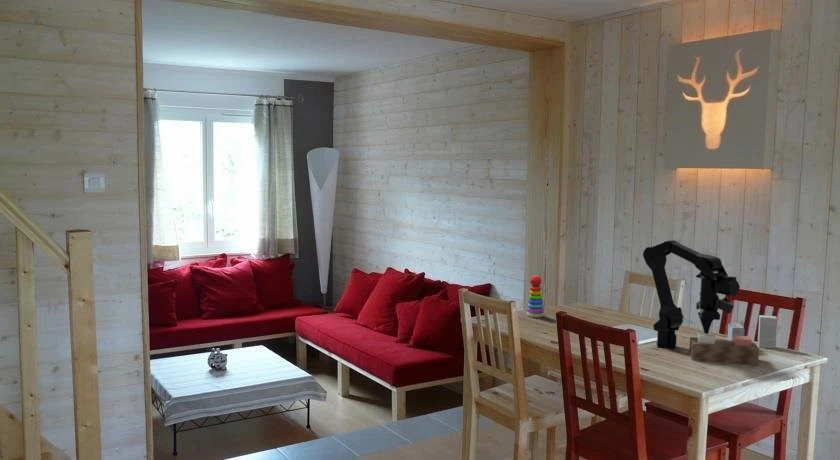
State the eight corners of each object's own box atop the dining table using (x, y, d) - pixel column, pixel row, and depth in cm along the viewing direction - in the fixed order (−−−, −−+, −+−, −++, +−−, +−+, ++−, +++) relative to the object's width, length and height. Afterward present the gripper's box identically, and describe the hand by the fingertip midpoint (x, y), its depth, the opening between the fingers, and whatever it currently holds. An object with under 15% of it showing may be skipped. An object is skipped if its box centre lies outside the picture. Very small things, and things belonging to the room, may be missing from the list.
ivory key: (698, 346, 257) (699, 336, 256) (696, 342, 262) (697, 332, 262) (714, 348, 255) (715, 337, 255) (712, 344, 260) (713, 333, 260)
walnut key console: (691, 359, 256) (692, 343, 255) (689, 352, 265) (690, 337, 265) (758, 365, 250) (759, 349, 249) (752, 357, 259) (753, 342, 259)
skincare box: (774, 346, 276) (776, 316, 275) (775, 348, 272) (777, 318, 271) (757, 344, 278) (758, 314, 277) (758, 347, 274) (760, 317, 273)
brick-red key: (734, 349, 254) (734, 338, 253) (731, 345, 259) (732, 335, 258) (750, 350, 252) (751, 340, 252) (748, 347, 257) (748, 336, 257)
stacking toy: (543, 314, 326) (544, 274, 324) (545, 318, 318) (546, 277, 317) (526, 313, 327) (527, 273, 325) (527, 317, 319) (528, 276, 317)
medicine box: (743, 350, 270) (745, 328, 269) (731, 349, 270) (732, 327, 270) (738, 345, 277) (740, 323, 276) (726, 344, 278) (727, 322, 277)
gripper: (737, 297, 245) (734, 341, 247) (728, 288, 263) (726, 329, 265) (702, 295, 248) (700, 339, 250) (697, 286, 266) (694, 326, 268)
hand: (706, 333), depth 258 cm, fingers closed
